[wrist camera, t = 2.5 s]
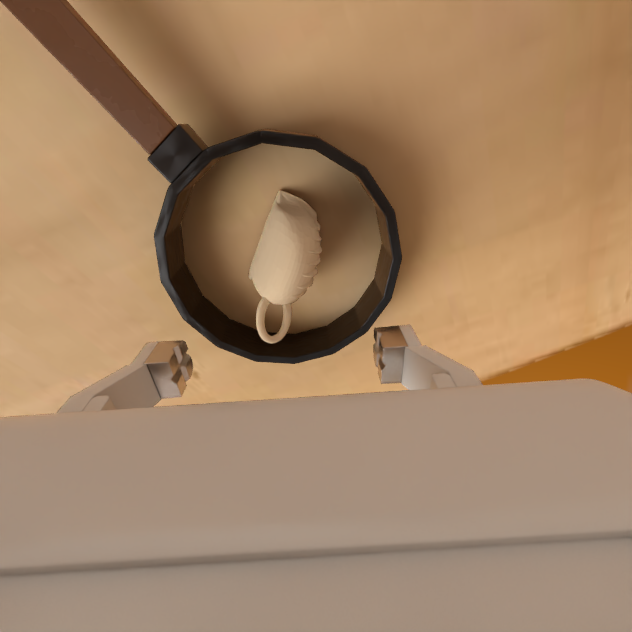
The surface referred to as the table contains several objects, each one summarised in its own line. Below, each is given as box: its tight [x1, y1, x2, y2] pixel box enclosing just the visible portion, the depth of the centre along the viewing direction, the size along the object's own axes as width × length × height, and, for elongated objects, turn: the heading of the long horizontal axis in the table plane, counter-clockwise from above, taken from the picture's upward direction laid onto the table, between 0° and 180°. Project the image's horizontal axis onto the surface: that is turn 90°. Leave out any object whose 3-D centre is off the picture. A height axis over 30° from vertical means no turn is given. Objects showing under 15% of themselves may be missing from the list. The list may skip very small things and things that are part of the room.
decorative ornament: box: [249, 190, 322, 343], centre depth 21 cm, size 4×8×5 cm, turn 154°
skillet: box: [0, 0, 402, 364], centre depth 20 cm, size 26×15×3 cm, turn 39°
